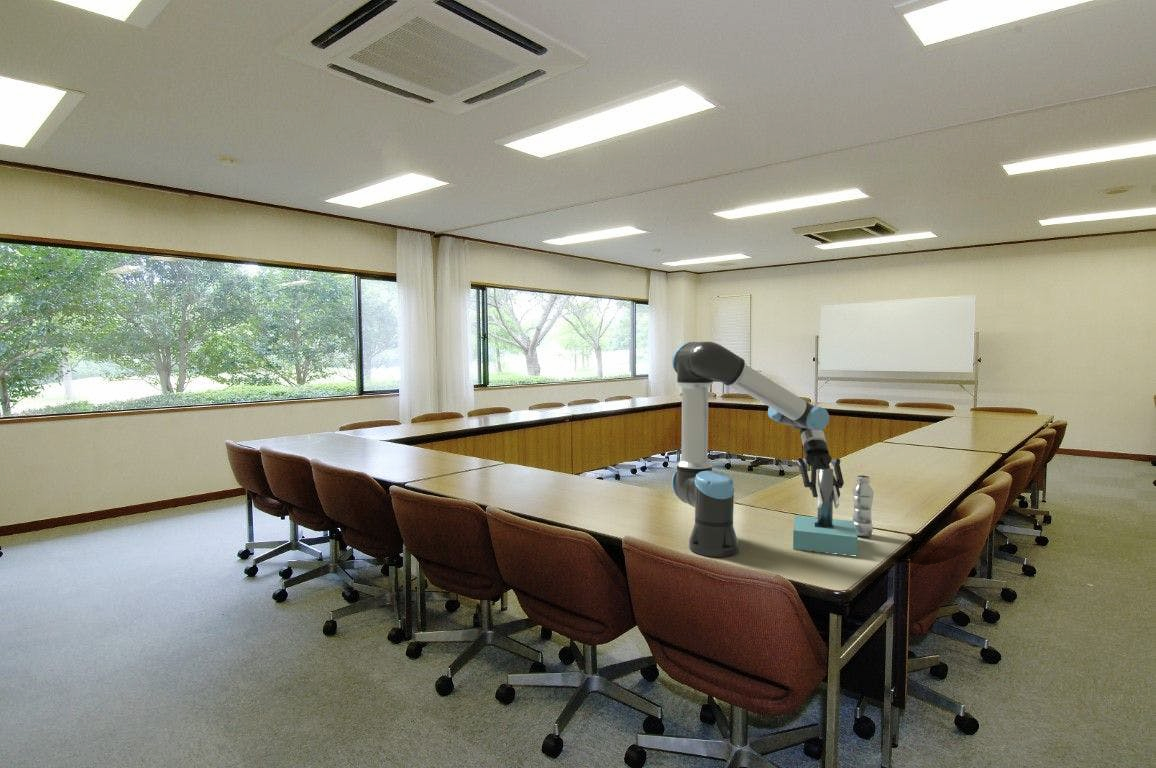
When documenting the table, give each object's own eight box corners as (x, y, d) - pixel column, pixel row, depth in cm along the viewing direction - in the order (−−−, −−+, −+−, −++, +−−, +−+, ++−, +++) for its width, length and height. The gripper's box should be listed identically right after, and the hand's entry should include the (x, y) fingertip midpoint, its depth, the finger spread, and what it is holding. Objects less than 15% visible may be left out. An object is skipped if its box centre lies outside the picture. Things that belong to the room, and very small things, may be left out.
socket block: (793, 549, 179) (793, 530, 178) (794, 532, 195) (794, 515, 195) (857, 556, 172) (857, 537, 171) (852, 538, 188) (853, 520, 188)
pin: (817, 526, 182) (818, 470, 181) (817, 522, 186) (818, 467, 185) (832, 527, 180) (833, 471, 179) (832, 523, 184) (833, 468, 183)
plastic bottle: (848, 535, 192) (849, 476, 191) (855, 531, 197) (857, 473, 196) (868, 540, 187) (870, 479, 186) (875, 535, 192) (877, 476, 191)
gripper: (838, 451, 196) (855, 512, 181) (786, 450, 198) (797, 511, 183) (844, 438, 191) (861, 500, 175) (790, 438, 193) (802, 498, 177)
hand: (828, 505), depth 179 cm, fingers closed on pin, 4 cm apart
